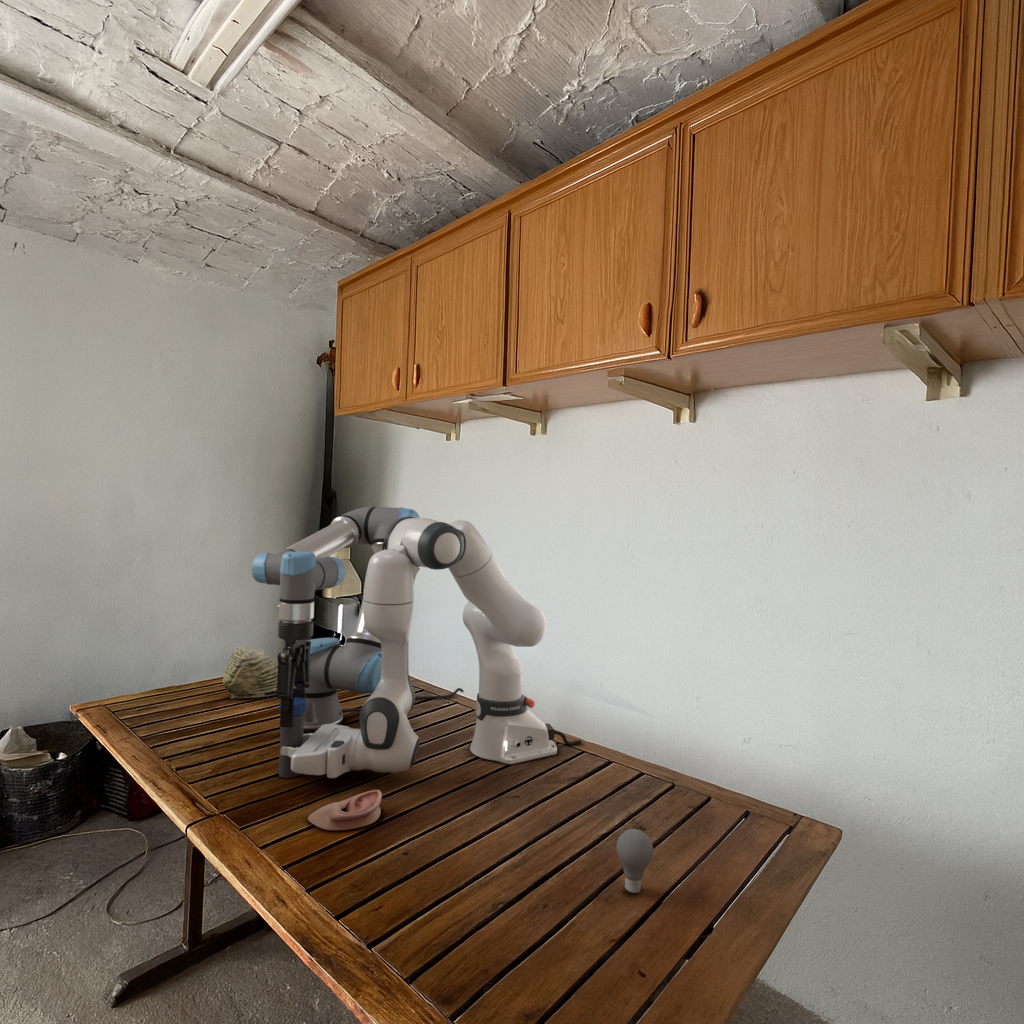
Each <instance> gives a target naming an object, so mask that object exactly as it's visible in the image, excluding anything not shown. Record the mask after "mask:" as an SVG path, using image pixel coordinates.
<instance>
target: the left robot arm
mask: <svg viewBox="0 0 1024 1024" xmlns="http://www.w3.org/2000/svg"><path fill="white" fill-rule="evenodd" d="M404 517H415V518H421V517H420V515H419V513H418V512H417V511H416V510H415V509H413V508H405V507H390V506H389V507H388V506H386V507H385V506H371V505H370V506H363V507H360V508H357V509H356V508H355V509H353V510H351V511H347V512H345V513H343V514H341V515H340V516H337V517H335V518H334V519H333V520H332V521H331V523H330V524H329V525H328V526H326V527H324V528H321V529H320V530H318V531H315V532H314V533H312V534H309V536H307V537H304V538H302V539H301V540H299V541H297V542H295V543H292V544H291V545H290V546H288V547H285V548H283V549H282V550H280V551H278V552H276V553H271V552H266V553H263V552H262V553H259V554H257V555H256V556H255V558H254V559H253V560H252V563H251V568H250V571H251V576H252V578H253V579H254V580H255V582H257V583H259V584H266V585H268V586H269V585H273V586H279V602H278V603H279V604H278V605H277V609H278V618H279V620H280V621H279V622H278V625H277V626H278V627H277V637H278V638H279V639H281V640H283V641H284V645H283V650H282V652H278V653H277V668H278V676H277V692H276V695H275V697H276V699H280V701H281V710H280V713H279V714H280V715H279V727H280V728H281V727H293V716H294V698H303V699H306V703H307V705H306V712H305V713H304V729H303V733H315V732H316V731H317V730H318V729H319V728H320V727H321V726H322V725H324V724H336V725H342V723H343V722H344V714H343V713H352V712H353V713H354V712H355V713H356V712H359V713H360V711H361V708H342V706H341V702H340V699H339V695H338V690H341V691H347V692H354V693H357V694H358V693H359V694H372V693H373V692H374V691H375V689H376V687H377V685H378V683H379V681H380V679H381V674H382V659H381V643H380V640H379V639H378V638H376V637H374V636H373V635H371V634H370V633H369V632H368V631H367V629H366V628H365V624H364V617H363V600H362V601H361V605H360V609H359V613H358V616H357V620H356V623H355V624H356V625H355V628H354V632H353V633H352V634H350V635H349V636H347V638H346V640H345V644H344V645H340V644H341V643H340V642H341V641H340V639H339V638H337V637H320V638H319V637H318V638H313V635H314V621H313V619H314V618H315V593H316V591H320V590H327V589H332V588H334V587H337V586H339V585H340V584H342V583H343V581H344V580H345V578H346V573H347V572H346V571H347V570H346V565H345V563H344V562H343V561H342V559H340V558H338V557H336V556H333V555H334V554H336V553H338V552H339V551H340V550H343V549H350V548H353V547H354V546H358V545H369V546H370V547H371V550H373V552H374V554H375V553H377V552H379V551H382V544H383V542H384V541H385V536H386V533H387V531H388V529H389V527H390V526H391V524H392V523H393V522H394V521H396V520H398V519H400V518H404ZM384 550H385V547H384ZM311 638H313V639H311ZM458 692H460V693H464V692H465V690H464V689H463V688H461V687H458V688H456V689H455V690H454V691H453V692H452V693H450V694H444V695H426V696H425V695H424V696H415V700H436V699H437V700H441V699H449V698H452V697H454V696H455V695H456V694H457V693H458Z"/></svg>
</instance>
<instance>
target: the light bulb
mask: <svg viewBox="0 0 1024 1024" xmlns="http://www.w3.org/2000/svg"><path fill="white" fill-rule="evenodd" d="M615 849H616V854H617V857H618V859H619V861H620V863H621V865H622V867H623V873H624V874H623V875H624V876H625V878H624V888H625V890H627V891H628V892H630V893H634V894H635V893H639V892H640V891H641V889H642V887H641V886H642V879H643V877H644V875H645V871H646V868H647V867H648V866H649V864H650V863H651V861H652V859H653V855H654V847H653V843H652V841H651V838H649V836H648V835H647V834H646V833H645V832H643V831H642V830H641V829H636V828H629V829H627V830H625V831H623V832H622V833H621V834H620V835H619V837H618V839H617V841H616V847H615Z"/></svg>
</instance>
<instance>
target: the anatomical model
mask: <svg viewBox="0 0 1024 1024" xmlns="http://www.w3.org/2000/svg"><path fill="white" fill-rule="evenodd" d="M382 799H383V795H382V791H381V790H380V789H372V790H368V791H365V792H362V793H358V794H355V795H353V796H351V797H349V798H346V799H343V800H341V801H336V802H331V803H327V804H325V805H323V806H321V807H319V808H318V809H316V810H315V811H313V812H311V813H310V814H309V815H308V817H307V821H308V822H309V823H311V824H313V825H314V826H316V827H317V828H320V829H322V830H325V831H344V830H345V831H347V830H352V829H353V830H354V829H359V828H362V827H365V826H368V825H371V824H373V823H375V822H376V821H378V820H379V818H380V815H381V807H380V805H381V802H382Z"/></svg>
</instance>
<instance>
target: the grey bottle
mask: <svg viewBox="0 0 1024 1024" xmlns="http://www.w3.org/2000/svg"><path fill="white" fill-rule="evenodd" d="M279 729H280V730H279V731H280V733H279V735H280V736H279V751H280V750H281V748H282V747H283V746H284V745H291V747H293V748H296V747H301V746H302V745H303V744H304V743H303V735H304V732H303V729H304V713H303V714H301V715H297V716H293V727H280V728H279ZM278 755H279V758H278V776H279V777H280V778H284V779H291V778H292V779H293V778H296V777H299V776H300V775H301V774H299V773H295V772H293V771H292V770H291V757H289V756H284V755H281V754H280V753H279V754H278Z"/></svg>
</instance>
